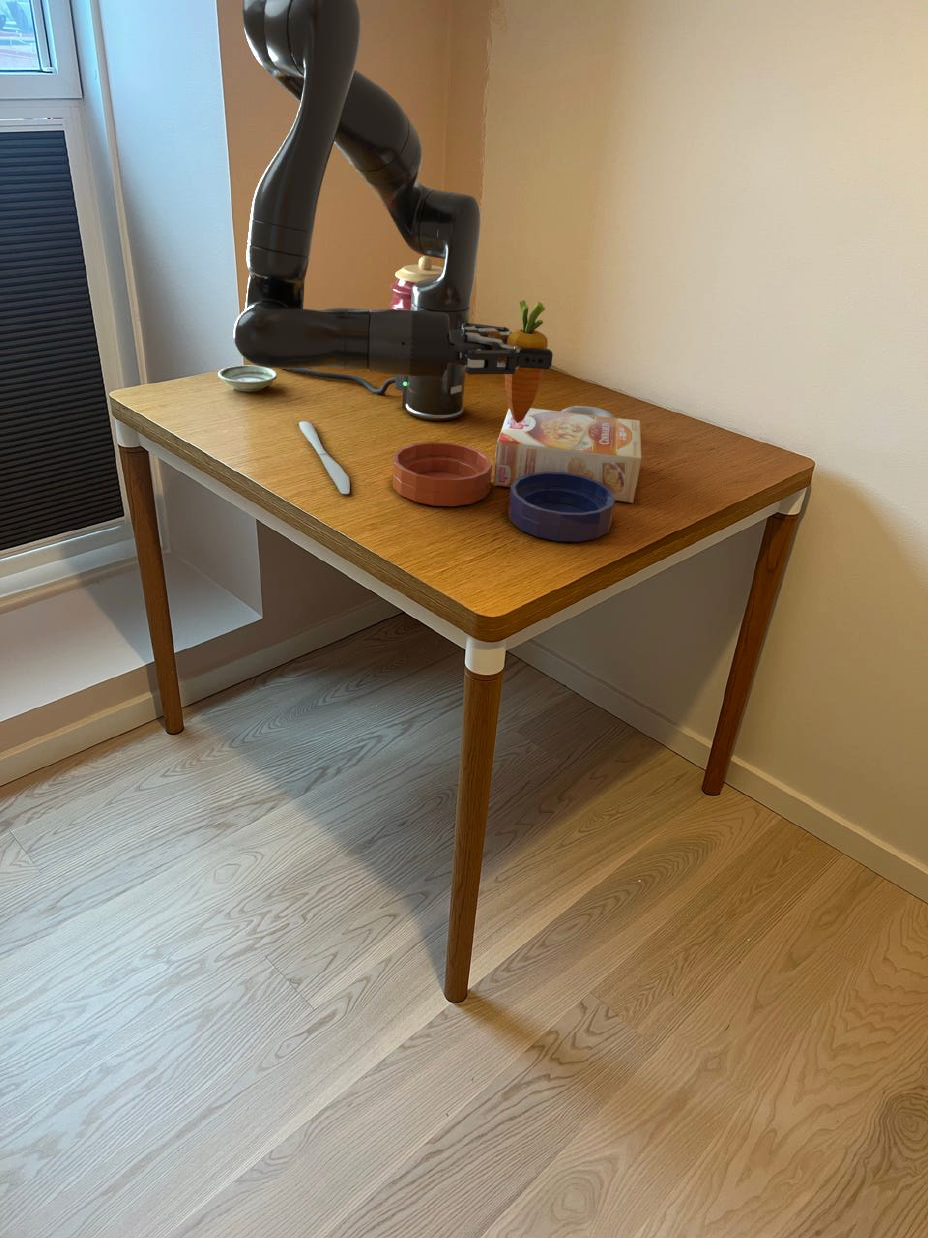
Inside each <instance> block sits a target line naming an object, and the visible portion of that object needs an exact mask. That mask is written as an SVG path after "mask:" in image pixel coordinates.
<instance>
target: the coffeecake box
mask: <svg viewBox="0 0 928 1238" xmlns="http://www.w3.org/2000/svg"><path fill="white" fill-rule="evenodd" d="M641 440H642V439H641V420H640V419H639V420H637V419H628V418H618V417H615V418H610V417H602V416H593V415H584V414H576V413H567V412H561V411H559V410H552V409H551V410H549V409H541V408H534V407H531V408H530V409H529V411H528V413H527V414H526V416H525V417H524V419H523V420H522V421H521V422H519V423H517V422H516V421H515V420H514V419H513V416H512V414H511V411H510V409H509V408H508V409H507V413H506V415H505V418H504V421H503V424H502V427H501V430H500V433H499V436H498V438H497V441H496V447H495V454H494V455H495V456H494V457H495V458H494V478H493V487H503V488H511V485H512V484H513V483H514V481H515V480H516V479H517V478H519V477H522V476H524V475H527V474H531V473H538V472H565V473H571V474H576V475H581V476H585V477H587V478H590V479H593V480H596V481H598V482H600V483H602V484H603V485H605V486H606V487H608V488H609V489H611V491H612V493H613V495H614V496H615V502H616V501H617V502H624V503H631V504H634V499H635V495H636V491H637V486H638V481H639V475H640V469H641V464H642V441H641Z"/></svg>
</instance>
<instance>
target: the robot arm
mask: <svg viewBox="0 0 928 1238" xmlns="http://www.w3.org/2000/svg"><path fill="white" fill-rule="evenodd" d="M241 12H242V13H241V14H242V23H243V28H244V33H245V36H246V40H247V42H248V45H249V47H250V49H251V51H252V53H253V56H255V58H256V60H257V61H258V62H259V64H260V65H261V67H263V69H264V70H266V72H268V74H269V75H271V77H272V78H274V79H275V81H277V83H279V84H280V85H281V86H282V87H283V88H284V89H285V90H286V91H287V92H288V93H290V95H291V96H292V97H294V98H295V99H296V100H297V102H299V103H300V105H299V108H298V110H297V114H296V117H295V119H294V121H293V124H292V126H291V128H290V130H289V132H288V134H287V136H286V137H285V140H284V141H283V143H282V144H281V146H280V148H279V149H278V150H277V152H276V153H275V155H274V157H273V158H272V159H271V161H270V163H269V165H268V166H267V168H266V169H265V171H264V173H263V175H262V176H261V178H260V181H259V183H258V185H257V187H256V189H255V192H254V197H253V200H252V206H251V210H250V211H251V213H250V220H249V230H248V237H247V245H246V246H247V247H246V266H247V267H246V268H247V269H248V282H247V290H246V299H245V306H244V311H242V312H241V313H240V314H239V316H238V317H237V318H236V321H235V323H234V327H233V342H234V345H235V348H236V349H237V351H238V352H239V354H240V356H242V358H243V359H245V360H246V361H247V362H249V363H250V364H252V365H253V366H260V367H265V368H269V369H283V370H287V371H290V372H293V373H298V374H301V375H307V376H311V377H317V378H325V379H331V380H341V381H348V382H349V381H350V382H354V383H359V384H361V385H363V386H364V387H365V388H366V389H367V390H369V391H370V392H372V393H373V394H375V395H378V396H379V395H384V394H385V393H386V391H387V390H388V388H389V386H390V385H392V384H394V386H395V387H394V390H397V391H400V392H402V402H401V405H402V406H401V408H402V409H405V411H406V413H408V414H409V415H411V416H412V417H414V418H417V419H421V420H426V421H432V422H433V421H434V422H435V421H436V422H445V421H453V420H456V419H458V418H460V417H462V416H463V415H464V397H465V387H466V386H465V383H466V374H467V375H469V376H471V375H472V376H473V375H505V374H515V370H518V369H519V367H520V368H535V369H543V370H550V369H551V367H552V362H553V351H552V350H551V349H549V348H547V349H540V348H525V347H521V348H520V347H518V346H511V345H507V339H508V337H509V335H510V334H512V333H513V332H514V331H512V330H510V328H508V327H506V326H503V327H502V326H496V325H495V326H494V325H488V324H480V323H474V322H473V323H472V322H470V317H471V316H470V315H471V304H472V303H471V302H472V296H473V291H474V287H475V283H476V282H475V281H476V271H477V265H478V264H477V263H478V255H479V247H480V242H481V241H480V239H481V232H482V213H481V207H480V204H479V201H478V200H477V199H476V197H474V196H473V195H470V194H466V193H459V192H454V191H446V190H440V189H433V188H430V187H427V186H426V185H424V184H423V183H422V182H420V180H419V179H418V177H419V174H420V171H421V169H422V163H423V153H424V152H423V143H422V140H421V138H420V136H419V133H418V131H417V129H416V128H415V126H414V125H413V122H412V121H411V120H410V118H409V116H408V115H407V113H406V112H405V110H404V109H403V107H402V105H401V104H400V103H399V102H398V101H397V99H395V98H394V97H393V95H391V94H390V93H389V92H387V91H386V90H385V89H384V88H383V87H381V86H380V85H378V84H377V83H375V82H374V81H373V80H372V79H370V78H369V77H368V76H366V75H364V73H361V72H360V71H359V70H357V69H356V66H357V61H358V57H359V52H360V47H361V46H360V44H361V38H362V37H361V35H362V19H361V12H360V7H359V4H358V1H357V0H243V1H242V10H241ZM334 145H335V146H336V147H337V148H338V150H339V151H340V153H341V154H342V156H343V157H344V159H345V160H346V161H347V162H348V164H349V165H350V166H351V167H352V169H353V170H354V171H355V172H356V174H357V175H358V176H359V177H360V179H361V180H363V182H364V183H365V184H366V185H367V186H368V187H369V189H370V190H371V192H372V193H373V194H374V196H375V197H376V198H377V200H378V201H379V203H380V204H381V205H382V206H383V208H384V210H385V211H386V212H387V213H388V215H389V217H390V219H391V221H392V222H393V224H394V226H395V228H396V229H397V231H398V233H399V235H400V236H401V238H402V240H403V241H404V244H406V245H407V247H408V248H409V249H410V250H411V251H413V252H414V253H416V254H418V255H420V256H428V257H430V258H436V259H441V260H444V264H443V268H444V270H443V273H442V274H441V275H439V276H437V277H434V278H429V279H425V280H421V281H418V282H416V283H415V284H414V285H413V287H412V293H411V310H400V309H391V308H381V309H366V308H352V307H330V308H326V309H313V308H312V309H311V308H304V303H305V282H306V277H307V272H308V268H309V264H310V257H311V251H312V243H313V237H314V231H315V229H314V228H315V224H316V223H315V222H316V215H317V209H318V204H319V198H320V194H321V189H322V184H323V182H324V181H323V180H324V177H325V174H326V171H327V166H328V162H329V159H330V156H331V152H332V150H333V146H334ZM502 358H505V359H506V361H505V360H503V359H502ZM314 368H332V369H338V370H348V371H363V372H364V371H365V372H368V371H369V372H373V373H378V374H383V375H390V376H392V377H390V378H388V379H386V380H385V381H384V382H383V384H382V386H381V387H380V388H376V387H374V386H373V385H372V384H371V383H370V382H369V381H368V380H366V379H364V378H362V377H360V376H355V375H352V374H344V373H333V372H332V373H331V372H326V371H319V370H314Z"/></svg>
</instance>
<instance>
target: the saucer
mask: <svg viewBox="0 0 928 1238" xmlns="http://www.w3.org/2000/svg"><path fill="white" fill-rule="evenodd" d="M217 376H218V379H220V380H221V381H222V382H223V383H224V384H226V385H228V386H229V387H232V388H233V389H234V390H237V391H240V392H258V391H260V390H263V389H264V388H266V387H268V386H269V385H271V384H272V383H273V382H274V381H275V380H276V379H277V378H278V373H277V372H276V371H275V370H273V369H272V368H265V367H260V366H257V365H253V364H252V365H251V364H241V365H233V366H232V365H231V366H228V367H225V368H222V369H221V370H219V371H218V372H217Z"/></svg>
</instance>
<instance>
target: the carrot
mask: <svg viewBox="0 0 928 1238" xmlns="http://www.w3.org/2000/svg"><path fill="white" fill-rule="evenodd" d="M519 306H520V311H521V316H520V317H521V325H522V328H518V329H514V331H512V332H513V333H512V334H510V335H509V337H508V339H507V345H511V346H518V347H520V348H521V347H525V348H540V349H548V345H549V340H548V337H547V336H546V335H545V334H544V333H542V332H540V331H538V330H537V329H538V328H539V327H541V325H543V324H544V320H542V319H538V317H539V316H540V315H541V313H543V312H544V311H545V310H546V307H544V303H542V302H540V301H537V302H536V303H535V305H534V306H533V308H532V310H531V312H530V314H529V306H528V305H527V304H526V300H524V299H523V300H520V302H519ZM528 315H529V316H528ZM537 319H538V320H537ZM504 361H506V358H505V359H504ZM543 374H544V369H535V368H520V367H519V369H518V370H515V374H504V382H505V383H504V384H505V386H504V387H505V396H506V401H507V405H508V409H510V411H511V414H512V416H513V419H514V420H515V421H516V422H517V423H519V422H521V421H522V420H523V419H524V417H525V416H526V414H527V413H528V411H529V409H530V408H532V406H533V403H534V402H535V400H536V397H537V395H538V392H539V388H540V385H541V382H542V378H543Z"/></svg>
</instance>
